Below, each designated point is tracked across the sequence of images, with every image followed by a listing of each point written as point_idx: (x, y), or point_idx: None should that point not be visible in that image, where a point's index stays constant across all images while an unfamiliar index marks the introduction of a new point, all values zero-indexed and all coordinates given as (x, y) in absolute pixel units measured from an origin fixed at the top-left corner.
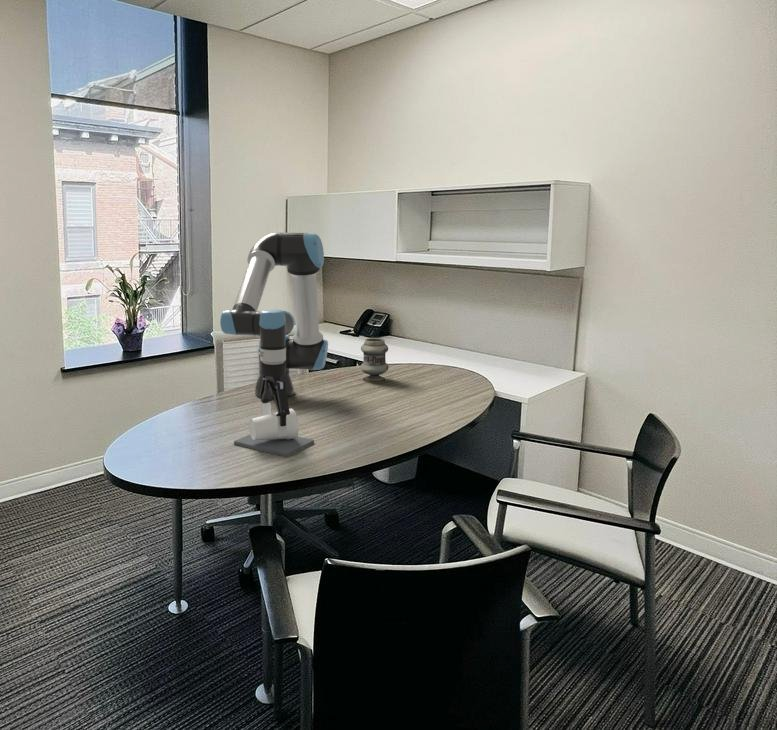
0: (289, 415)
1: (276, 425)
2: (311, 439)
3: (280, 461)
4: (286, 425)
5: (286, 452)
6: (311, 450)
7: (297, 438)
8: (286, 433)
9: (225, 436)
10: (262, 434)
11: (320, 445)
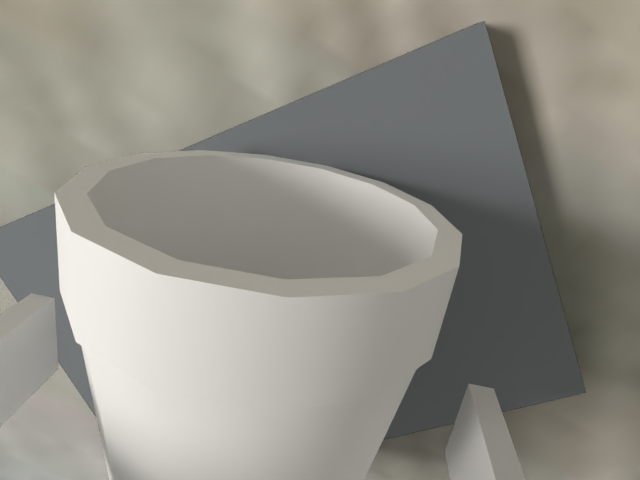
0: (366, 394)
1: (365, 476)
2: (453, 36)
3: (607, 440)
4: (521, 475)
5: (563, 381)
6: (613, 157)
7: (343, 138)
8: (498, 405)
9: (2, 446)
10: None
11: (576, 5)
